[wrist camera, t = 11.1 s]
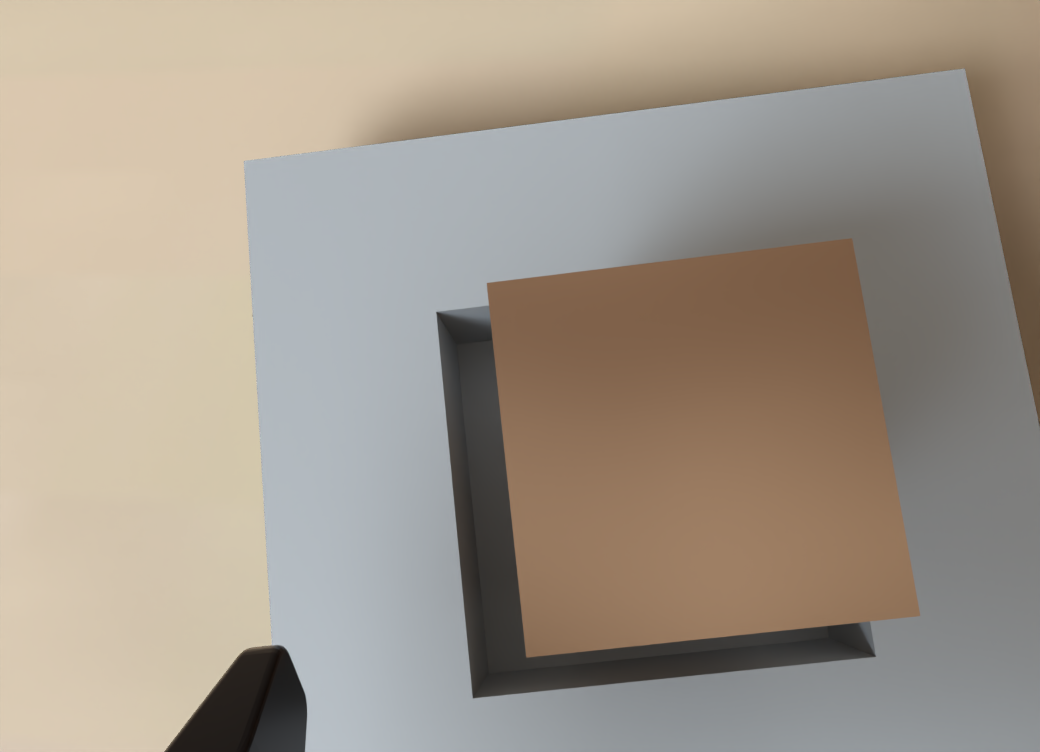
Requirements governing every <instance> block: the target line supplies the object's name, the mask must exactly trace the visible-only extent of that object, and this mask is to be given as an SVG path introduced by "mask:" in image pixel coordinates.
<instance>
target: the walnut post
mask: <svg viewBox="0 0 1040 752" xmlns="http://www.w3.org/2000/svg"><path fill="white" fill-rule="evenodd" d="M487 292H488V301H489V311H490V320H491V329H492V339H493V348H494V358H495V367H496V376H497V386H498V395H499V405H500V414H501V424H502V433H503V442H504V452H505V461H506V471H507V480H508V490H509V499H510V508H511V518H512V527H513V537H514V546H515V556H516V565H517V574H518V584H519V593H520V603H521V612H522V621H523V631H524V640H525V650H526V658H528V657H537V656H547V655H556V654H566V653H575V652H585V651H594V650H604V649H613V648H623V647H632V646H642V645H651V644H661V643H670V642H680V641H689V640H699V639H708V638H717V637H727V636H736V635H746V634H755V633H765V632H774V631H784V630H793V629H803V628H812V627H822V626H831V625H841V624H850V623H860V622H869V621H879V620H888V619H897V618H907V617H916V616H920V611H919V605H918V600H917V594H916V589H915V583H914V578H913V572H912V567H911V561H910V555H909V550H908V544H907V539H906V533H905V528H904V522H903V517H902V511H901V506H900V500H899V495H898V489H897V483H896V478H895V472H894V467H893V461H892V456H891V450H890V445H889V439H888V434H887V428H886V423H885V417H884V412H883V406H882V400H881V395H880V389H879V384H878V378H877V373H876V367H875V362H874V356H873V351H872V345H871V340H870V334H869V328H868V323H867V317H866V312H865V306H864V301H863V295H862V290H861V284H860V279H859V273H858V268H857V262H856V256H855V251H854V245H853V240H852V238H849V239H841V240H833V241H825V242H816V243H808V244H800V245H792V246H784V247H776V248H768V249H759V250H751V251H743V252H735V253H727V254H719V255H710V256H702V257H694V258H686V259H678V260H670V261H662V262H653V263H645V264H637V265H629V266H621V267H613V268H604V269H596V270H588V271H580V272H572V273H564V274H556V275H547V276H539V277H531V278H523V279H515V280H507V281H498V282H490V283H487Z"/></svg>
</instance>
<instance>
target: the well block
mask: <svg viewBox="0 0 1040 752" xmlns="http://www.w3.org/2000/svg"><path fill="white" fill-rule="evenodd" d="M244 171H245V188H246V205H247V222H248V239H249V257H250V274H251V291H252V308H253V325H254V343H255V360H256V377H257V394H258V412H259V429H260V446H261V463H262V480H263V498H264V515H265V532H266V549H267V566H268V584H269V601H270V618H271V635H272V645H282V646H283V647H285V648H286V649H287V651H288V653H289V655H290V657H291V659H292V662H293V664H294V667H295V669H296V672H297V674H298V677H299V679H300V682H301V684H302V687H303V689H304V692H305V695H306V700H307V729H306V745H305V752H1040V426H1039V421H1038V416H1037V411H1036V406H1035V402H1034V397H1033V392H1032V387H1031V383H1030V378H1029V373H1028V368H1027V363H1026V359H1025V354H1024V349H1023V344H1022V340H1021V335H1020V330H1019V325H1018V320H1017V316H1016V311H1015V306H1014V301H1013V297H1012V292H1011V287H1010V282H1009V277H1008V273H1007V268H1006V263H1005V258H1004V254H1003V249H1002V244H1001V239H1000V234H999V230H998V225H997V220H996V215H995V211H994V206H993V201H992V196H991V191H990V187H989V182H988V177H987V172H986V168H985V163H984V158H983V153H982V148H981V144H980V139H979V134H978V129H977V125H976V120H975V115H974V110H973V105H972V101H971V96H970V91H969V86H968V82H967V77H966V72H965V68H964V69H957V70H949V71H941V72H933V73H925V74H918V75H910V76H902V77H894V78H887V79H879V80H871V81H863V82H855V83H848V84H840V85H832V86H824V87H816V88H809V89H801V90H793V91H785V92H778V93H770V94H762V95H754V96H746V97H739V98H731V99H723V100H715V101H708V102H700V103H692V104H684V105H676V106H669V107H661V108H653V109H645V110H638V111H630V112H622V113H614V114H606V115H599V116H591V117H583V118H575V119H568V120H560V121H552V122H544V123H536V124H529V125H521V126H513V127H505V128H498V129H490V130H482V131H474V132H466V133H459V134H451V135H443V136H435V137H428V138H420V139H412V140H404V141H396V142H389V143H381V144H373V145H365V146H358V147H350V148H342V149H334V150H326V151H319V152H311V153H303V154H295V155H287V156H280V157H272V158H264V159H256V160H249V161H244ZM849 238H852V240H853V245H854V251H855V256H856V262H857V268H858V273H859V279H860V284H861V290H862V295H863V301H864V306H865V312H866V317H867V323H868V328H869V334H870V340H871V345H872V351H873V356H874V362H875V367H876V373H877V378H878V384H879V389H880V395H881V400H882V406H883V412H884V417H885V423H886V428H887V434H888V439H889V445H890V450H891V456H892V461H893V467H894V472H895V478H896V483H897V489H898V495H899V500H900V506H901V511H902V517H903V522H904V528H905V533H906V539H907V544H908V550H909V555H910V561H911V567H912V572H913V578H914V583H915V589H916V594H917V600H918V605H919V611H920V616H916V617H907V618H897V619H888V620H879V621H869V622H860V623H850V624H841V625H831V626H822V627H812V628H803V629H793V630H784V631H774V632H765V633H755V634H746V635H736V636H727V637H717V638H708V639H699V640H689V641H680V642H670V643H661V644H651V645H642V646H632V647H623V648H613V649H604V650H594V651H585V652H575V653H566V654H556V655H547V656H537V657H528V658H526V650H525V640H524V631H523V621H522V612H521V603H520V593H519V584H518V574H517V565H516V556H515V546H514V537H513V527H512V518H511V508H510V499H509V490H508V480H507V471H506V461H505V452H504V442H503V433H502V424H501V414H500V405H499V395H498V386H497V376H496V367H495V358H494V348H493V339H492V329H491V320H490V311H489V301H488V292H487V283H490V282H498V281H507V280H515V279H523V278H531V277H539V276H547V275H556V274H564V273H572V272H580V271H588V270H596V269H604V268H613V267H621V266H629V265H637V264H645V263H653V262H662V261H670V260H678V259H686V258H694V257H702V256H710V255H719V254H727V253H735V252H743V251H751V250H759V249H768V248H776V247H784V246H792V245H800V244H808V243H816V242H825V241H833V240H841V239H849Z"/></svg>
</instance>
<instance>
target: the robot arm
mask: <svg viewBox="0 0 1040 752" xmlns="http://www.w3.org/2000/svg"><path fill="white" fill-rule="evenodd" d="M306 729H307V700H306V695H305V692H304V689H303V687H302V684H301V682H300V679H299V677H298V674H297V672H296V669H295V667H294V664H293V662H292V659H291V657H290V655H289V653H288V651H287V649H286V648H285V647H283V646H282V645H271V646H262V647H253V648H249V649H246V650H245V651H243V652H242V653H241V654H240V655H239V656H238V657H237V658H236V660H235V661H234V662H233V664H232V665H231V666H230V667H229V669H228V670H227V671H226V673H225V674H224V675H223V676H222V678H221V679H220V680H219V682H218V683H217V684H216V686H215V687H214V688H213V689H212V691H211V692H210V693H209V695H208V696H207V697H206V698H205V700H204V701H203V702H202V704H201V705H200V706H199V708H198V709H197V710H196V711H195V713H194V714H193V715H192V717H191V718H190V719H189V720H188V722H187V723H186V724H185V726H184V727H183V728H182V729H181V731H180V732H179V733H178V735H177V736H176V737H175V739H174V740H173V741H172V742H171V744H170V745H169V746H168V748H167V749H166V750H165V751H164V752H305V745H306Z"/></svg>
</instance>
